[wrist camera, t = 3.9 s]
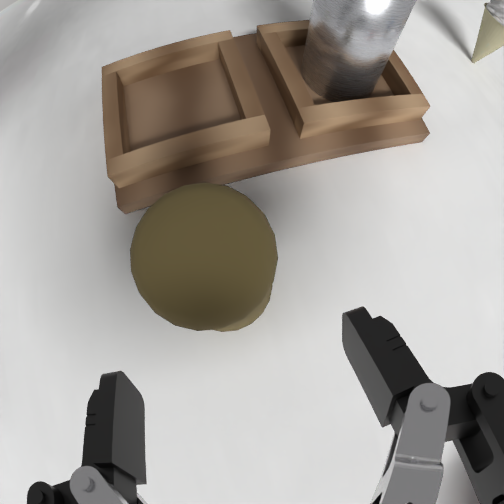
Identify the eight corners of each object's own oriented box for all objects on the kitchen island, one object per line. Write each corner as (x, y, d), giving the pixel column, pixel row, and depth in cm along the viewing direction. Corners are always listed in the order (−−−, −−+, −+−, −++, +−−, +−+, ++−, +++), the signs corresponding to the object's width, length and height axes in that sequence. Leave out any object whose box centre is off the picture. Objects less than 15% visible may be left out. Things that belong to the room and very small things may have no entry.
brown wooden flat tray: (125, 214, 21) (105, 196, 18) (111, 83, 24) (98, 58, 20) (421, 142, 23) (441, 120, 19) (357, 35, 25) (365, 10, 22)
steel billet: (317, 108, 21) (353, -14, 11) (290, 54, 23) (305, -58, 12) (386, 99, 22) (441, -3, 11) (354, 49, 23) (387, -50, 12)
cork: (168, 251, 21) (94, 187, 10) (257, 226, 21) (263, 137, 10) (190, 342, 20) (127, 365, 9) (283, 317, 20) (320, 315, 9)
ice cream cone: (461, 68, 25) (524, -23, 10) (451, 40, 26) (502, -46, 11) (494, 84, 25) (559, 5, 10) (483, 55, 26) (537, -21, 11)
